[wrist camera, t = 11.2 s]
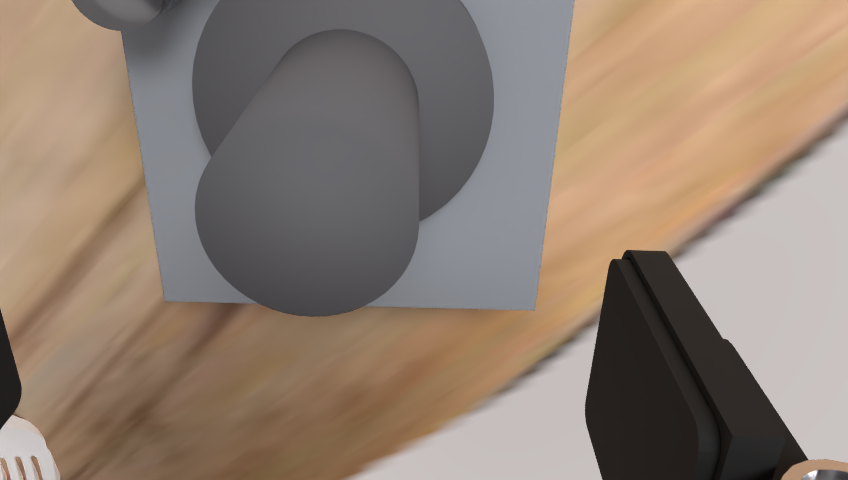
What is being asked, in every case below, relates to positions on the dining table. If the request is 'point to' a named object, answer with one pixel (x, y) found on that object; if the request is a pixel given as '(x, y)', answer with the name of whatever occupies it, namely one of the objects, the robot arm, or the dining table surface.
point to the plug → (333, 141)
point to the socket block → (438, 234)
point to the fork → (25, 451)
